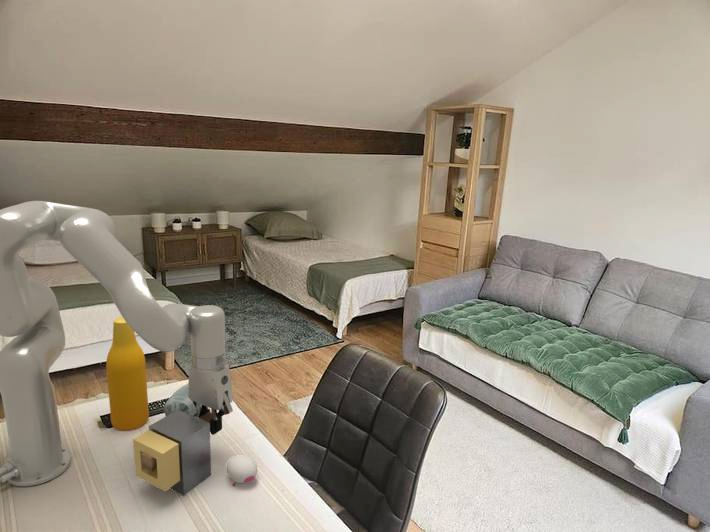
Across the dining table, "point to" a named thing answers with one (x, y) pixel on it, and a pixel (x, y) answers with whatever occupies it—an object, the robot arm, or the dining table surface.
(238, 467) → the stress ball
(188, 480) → the block
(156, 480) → the block
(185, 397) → the spool
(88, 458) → the dining table surface
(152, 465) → the shaft
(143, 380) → the beer bottle
